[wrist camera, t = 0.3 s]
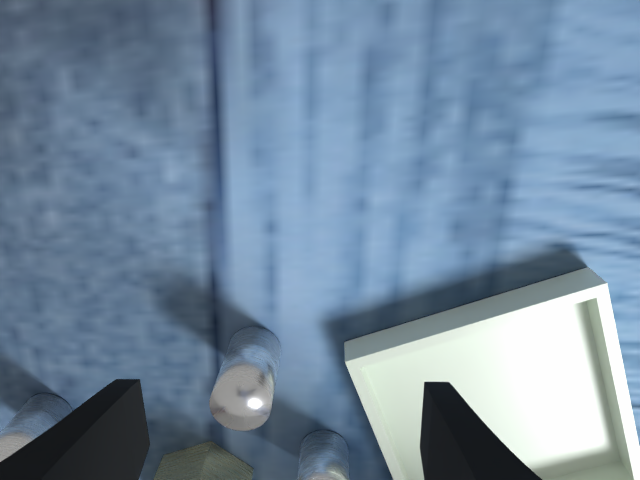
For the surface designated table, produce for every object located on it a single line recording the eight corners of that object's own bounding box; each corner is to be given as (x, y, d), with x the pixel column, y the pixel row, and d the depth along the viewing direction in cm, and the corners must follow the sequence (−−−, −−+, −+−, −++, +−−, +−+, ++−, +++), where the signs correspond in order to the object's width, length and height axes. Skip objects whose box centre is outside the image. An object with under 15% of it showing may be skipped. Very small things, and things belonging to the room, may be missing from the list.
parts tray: (628, 459, 25) (647, 485, 24) (413, 513, 27) (418, 540, 25) (588, 267, 22) (607, 283, 20) (344, 341, 23) (345, 361, 22)
